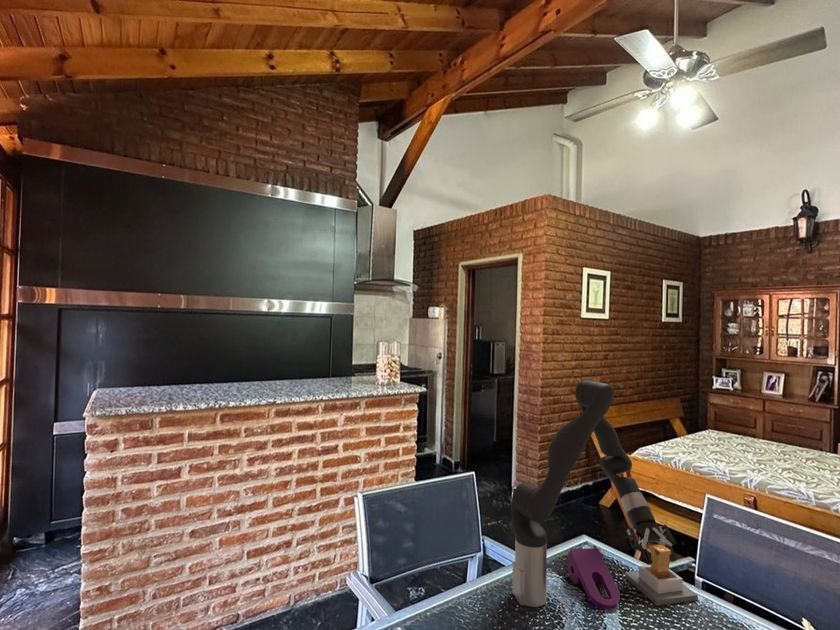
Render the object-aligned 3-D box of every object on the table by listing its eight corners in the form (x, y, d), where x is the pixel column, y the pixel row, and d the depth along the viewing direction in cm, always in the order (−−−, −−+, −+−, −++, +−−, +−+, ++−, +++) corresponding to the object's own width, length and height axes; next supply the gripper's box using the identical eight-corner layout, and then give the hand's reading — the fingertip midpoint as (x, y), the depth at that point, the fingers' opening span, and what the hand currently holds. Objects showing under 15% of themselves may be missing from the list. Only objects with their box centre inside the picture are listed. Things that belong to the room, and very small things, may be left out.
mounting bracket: (618, 622, 129) (592, 565, 145) (626, 604, 125) (598, 548, 141) (588, 624, 128) (565, 566, 144) (594, 606, 124) (570, 549, 141)
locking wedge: (659, 588, 133) (659, 551, 133) (649, 580, 137) (649, 544, 137) (671, 587, 134) (670, 550, 134) (660, 578, 138) (660, 543, 138)
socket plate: (656, 605, 127) (656, 588, 127) (625, 577, 141) (625, 562, 141) (697, 600, 130) (697, 583, 130) (663, 573, 144) (663, 558, 144)
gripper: (623, 506, 142) (648, 560, 131) (661, 503, 145) (689, 556, 133) (613, 515, 147) (636, 568, 136) (650, 512, 150) (675, 564, 138)
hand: (662, 562), depth 135 cm, fingers open, 8 cm apart
